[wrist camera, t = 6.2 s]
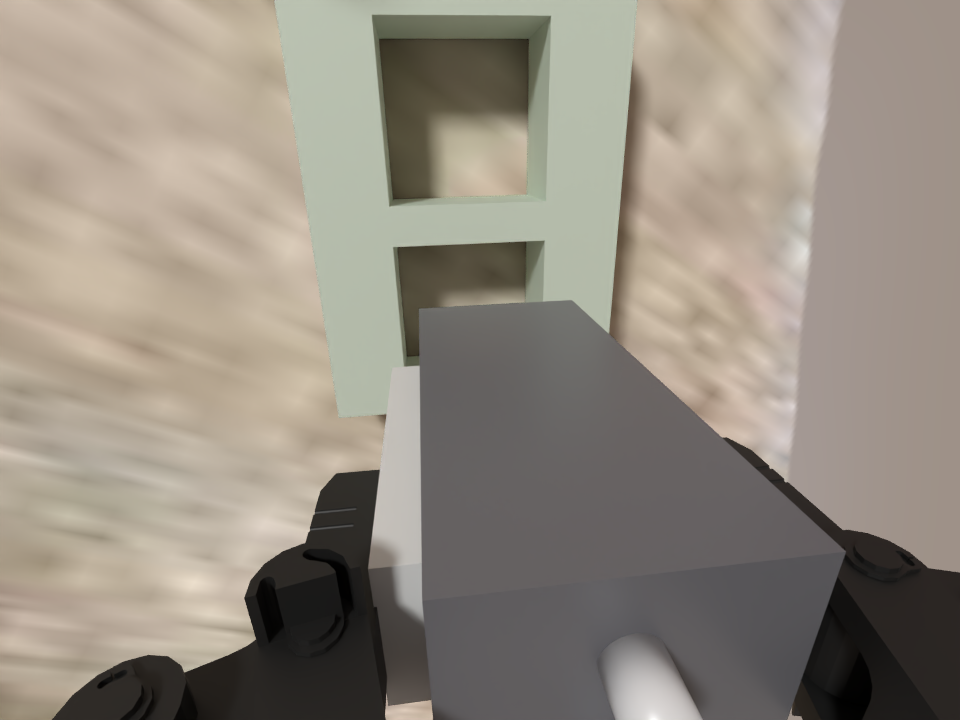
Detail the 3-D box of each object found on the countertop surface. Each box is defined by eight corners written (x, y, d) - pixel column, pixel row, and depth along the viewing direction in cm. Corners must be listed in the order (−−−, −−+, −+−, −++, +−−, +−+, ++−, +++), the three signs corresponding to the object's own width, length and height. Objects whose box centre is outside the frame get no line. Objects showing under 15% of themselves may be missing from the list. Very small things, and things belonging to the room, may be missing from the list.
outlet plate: (348, 383, 24) (338, 417, 21) (294, -1, 18) (268, -35, 15) (579, 366, 26) (603, 396, 22) (602, 2, 19) (639, -29, 16)
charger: (428, 442, 16) (450, 961, 6) (418, 308, 14) (423, 708, 4) (565, 431, 16) (812, 890, 6) (571, 300, 14) (938, 636, 4)
